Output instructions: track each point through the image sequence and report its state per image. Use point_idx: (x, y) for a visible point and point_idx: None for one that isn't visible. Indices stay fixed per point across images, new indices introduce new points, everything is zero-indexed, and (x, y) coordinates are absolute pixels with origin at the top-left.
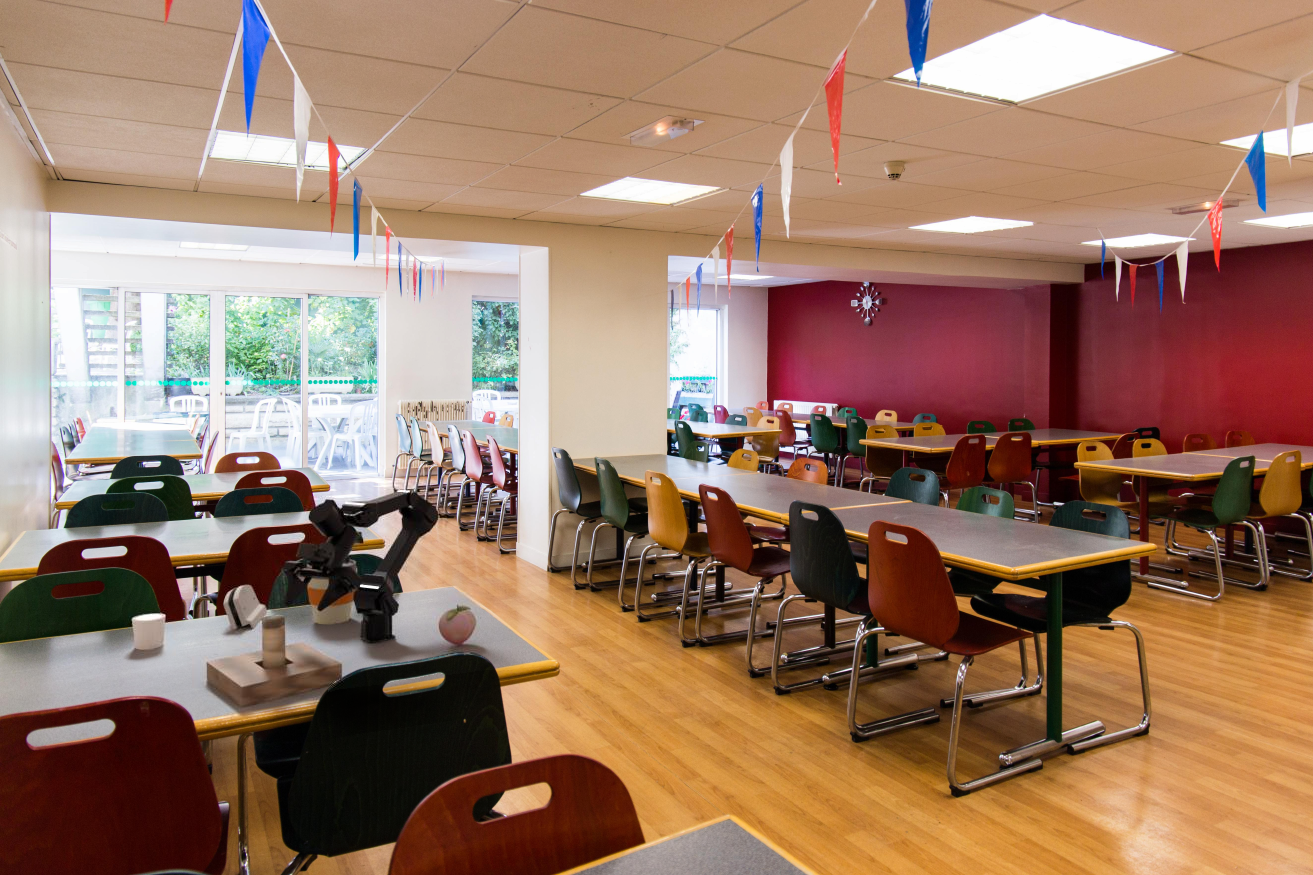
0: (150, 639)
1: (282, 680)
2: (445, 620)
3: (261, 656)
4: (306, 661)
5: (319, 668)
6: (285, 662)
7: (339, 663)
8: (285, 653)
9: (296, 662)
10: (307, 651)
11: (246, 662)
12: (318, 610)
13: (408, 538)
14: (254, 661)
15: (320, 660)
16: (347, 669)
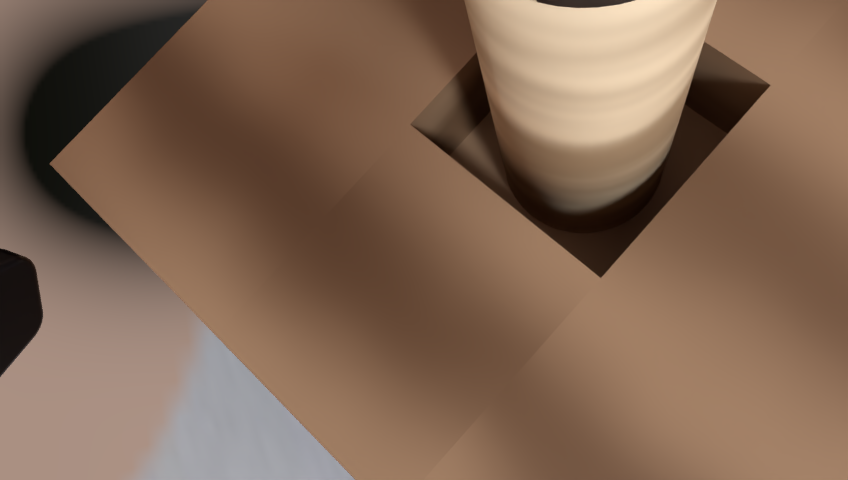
0: None
1: None
2: None
3: (807, 246)
4: (329, 171)
5: (176, 45)
6: (497, 137)
7: (67, 165)
8: (493, 113)
9: (400, 138)
10: (437, 441)
11: (839, 72)
12: (34, 289)
13: None
14: (781, 107)
15: (229, 211)
16: (167, 469)
